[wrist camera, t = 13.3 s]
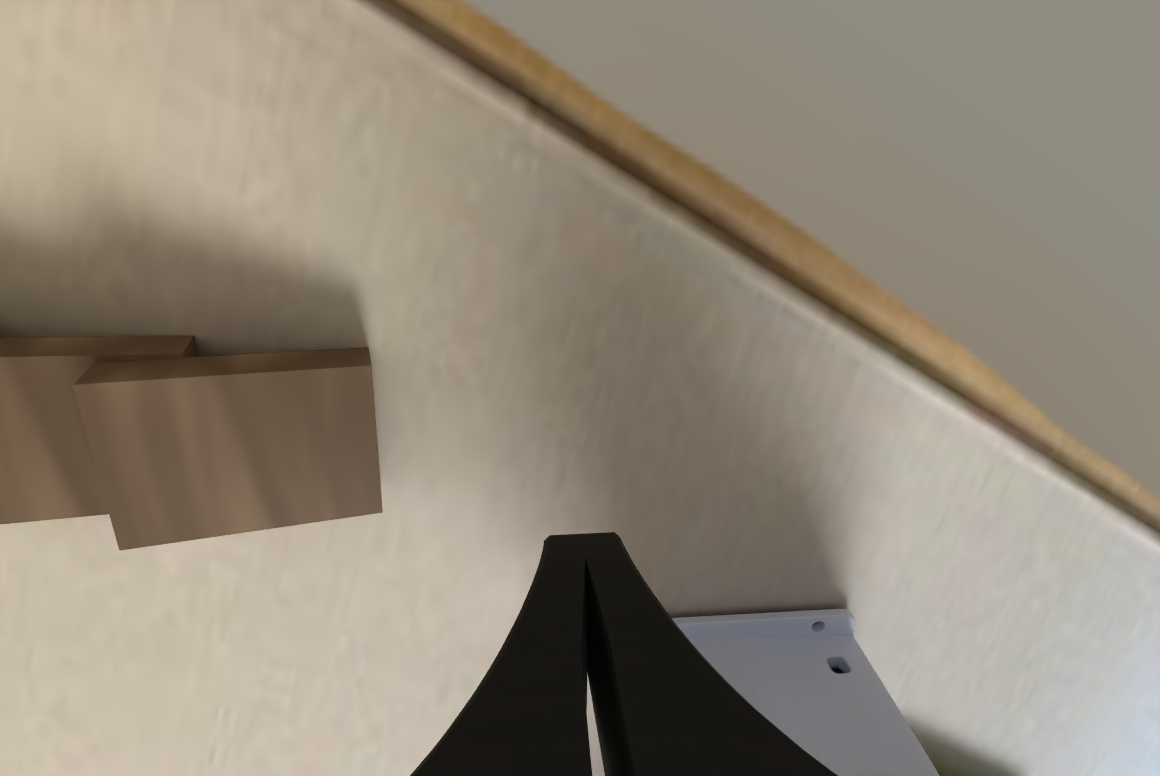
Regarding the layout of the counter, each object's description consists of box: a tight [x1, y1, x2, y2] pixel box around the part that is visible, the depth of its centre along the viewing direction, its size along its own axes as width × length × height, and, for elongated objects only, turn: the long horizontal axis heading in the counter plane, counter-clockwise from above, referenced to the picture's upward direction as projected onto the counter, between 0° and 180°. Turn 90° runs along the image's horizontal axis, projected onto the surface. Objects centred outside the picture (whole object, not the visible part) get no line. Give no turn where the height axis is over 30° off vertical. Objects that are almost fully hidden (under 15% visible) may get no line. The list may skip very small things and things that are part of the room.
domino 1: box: [0, 336, 197, 524], centre depth 17 cm, size 2×5×7 cm
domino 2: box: [73, 348, 382, 550], centre depth 18 cm, size 2×5×7 cm
